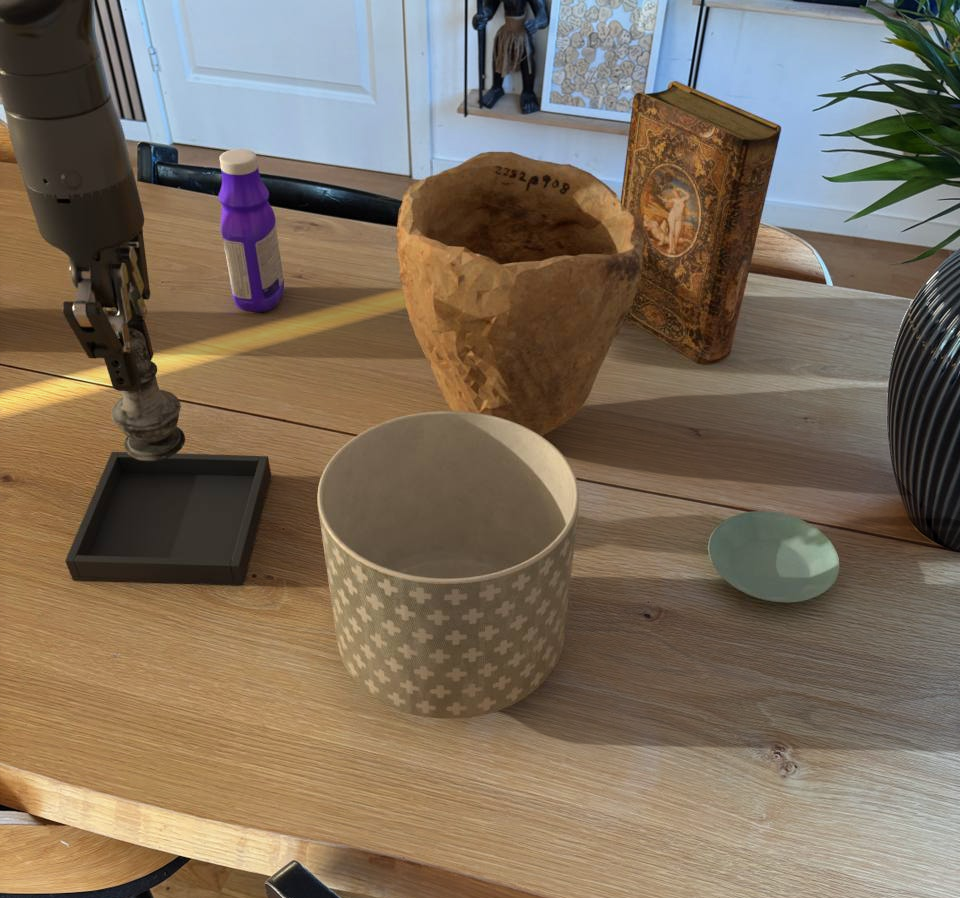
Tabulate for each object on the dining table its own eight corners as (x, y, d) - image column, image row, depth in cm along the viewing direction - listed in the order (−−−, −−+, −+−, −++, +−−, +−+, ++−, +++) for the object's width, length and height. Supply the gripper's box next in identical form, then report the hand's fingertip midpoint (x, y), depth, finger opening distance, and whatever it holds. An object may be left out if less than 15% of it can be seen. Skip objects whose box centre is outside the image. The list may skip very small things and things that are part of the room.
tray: (72, 580, 92) (64, 560, 90) (117, 471, 103) (111, 451, 101) (243, 585, 92) (239, 565, 90) (271, 475, 103) (268, 455, 101)
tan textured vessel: (633, 498, 101) (672, 261, 82) (408, 506, 100) (395, 268, 81) (600, 368, 116) (626, 143, 97) (404, 374, 115) (392, 147, 96)
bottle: (249, 283, 127) (224, 139, 114) (292, 288, 127) (272, 144, 114) (227, 313, 123) (200, 167, 110) (272, 318, 122) (249, 172, 109)
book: (738, 352, 118) (790, 129, 100) (705, 368, 116) (752, 143, 97) (639, 293, 127) (670, 78, 108) (607, 307, 125) (633, 90, 106)
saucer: (836, 626, 90) (843, 608, 88) (702, 608, 91) (706, 590, 89) (829, 537, 98) (836, 519, 96) (705, 521, 99) (710, 503, 97)
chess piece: (165, 469, 88) (132, 347, 79) (107, 453, 89) (68, 332, 80) (201, 430, 91) (173, 310, 82) (144, 416, 93) (111, 296, 84)
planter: (584, 601, 91) (606, 437, 78) (526, 767, 79) (539, 609, 66) (387, 554, 95) (375, 391, 81) (303, 707, 83) (272, 545, 69)
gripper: (54, 123, 77) (112, 326, 90) (-11, 211, 67) (64, 424, 80) (153, 126, 77) (197, 329, 90) (101, 214, 67) (159, 427, 80)
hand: (134, 373), depth 85 cm, fingers closed on chess piece, 3 cm apart
